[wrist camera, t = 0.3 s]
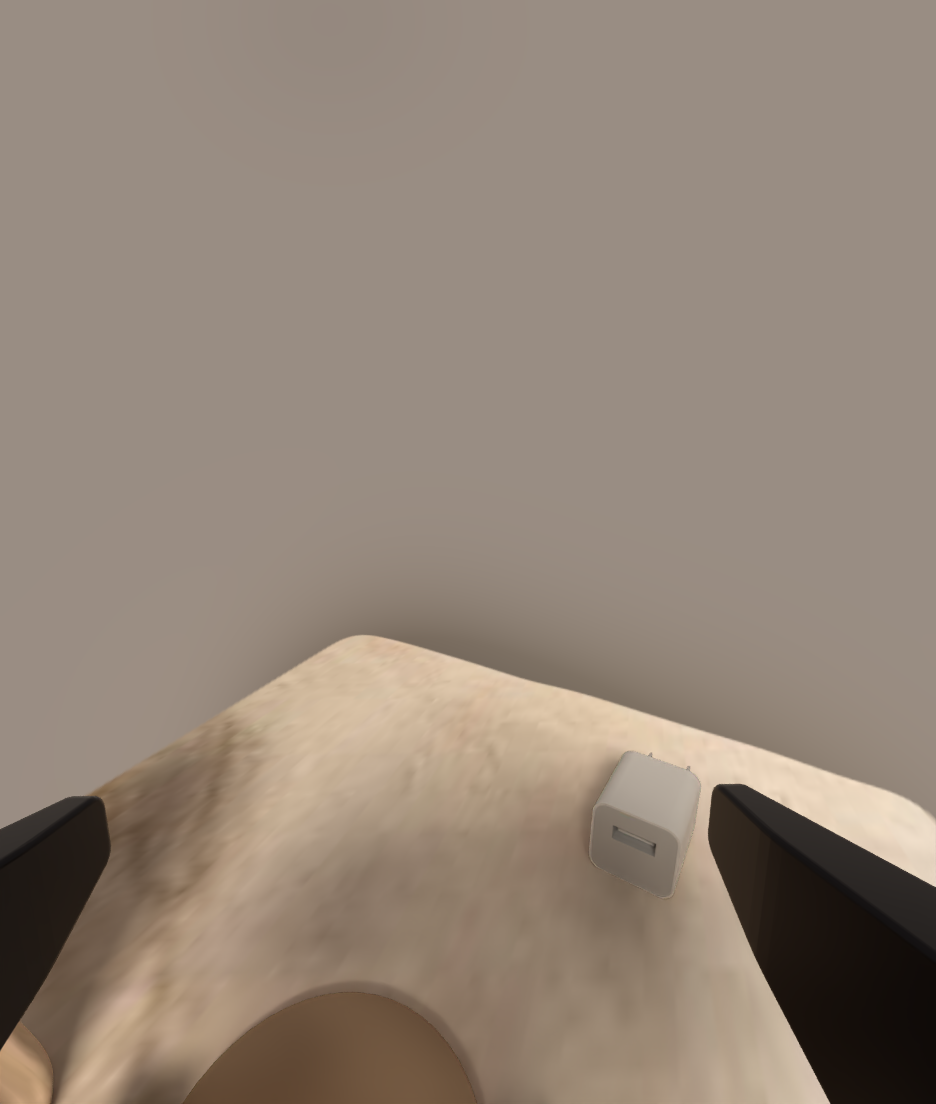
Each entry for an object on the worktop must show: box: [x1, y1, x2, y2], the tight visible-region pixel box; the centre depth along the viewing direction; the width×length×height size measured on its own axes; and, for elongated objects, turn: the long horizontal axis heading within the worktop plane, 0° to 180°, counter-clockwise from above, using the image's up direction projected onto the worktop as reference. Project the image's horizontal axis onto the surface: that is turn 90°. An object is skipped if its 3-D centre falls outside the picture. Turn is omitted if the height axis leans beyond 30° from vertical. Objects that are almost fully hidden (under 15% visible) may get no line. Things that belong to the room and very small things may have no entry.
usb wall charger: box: [589, 751, 701, 899], centre depth 28 cm, size 4×7×4 cm, turn 147°
